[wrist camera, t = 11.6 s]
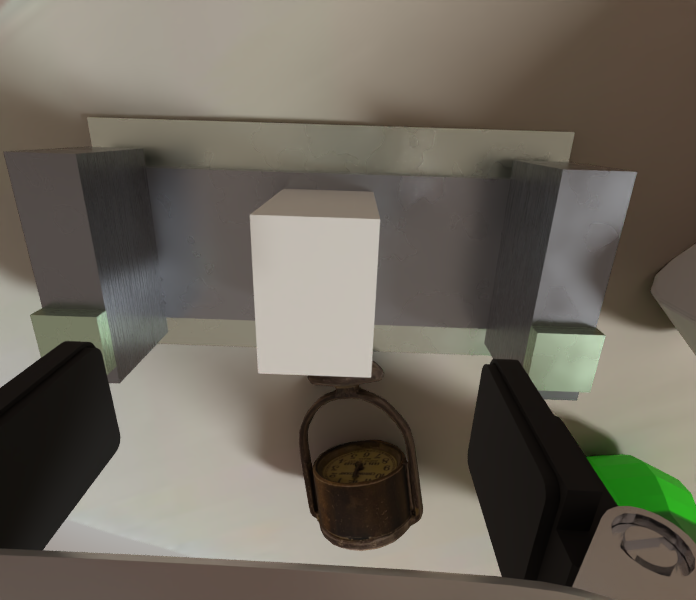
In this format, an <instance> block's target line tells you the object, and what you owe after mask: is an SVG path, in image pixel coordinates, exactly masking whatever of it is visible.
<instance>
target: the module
mask: <svg viewBox="0 0 696 600" xmlns="http://www.w3.org/2000/svg"><path fill="white" fill-rule="evenodd" d="M250 231H251V249H252V268H253V287H254V305H255V324H256V343H257V362H258V373H261V374H287V375H314V376H340V377H367V378H371V371H372V354H373V336H374V319H375V301H376V284H377V266H378V249H379V231H380V216H379V212H378V208H377V204H376V200H375V196H374V192H366V191H336V190H307V189H282V190H281V191H280V192H279V193H277V194H276V195H275V196H273V197H272V198H271V199H269V200H268V201H267V202H266V203H264V204H263V205H262V206H260V207H259V208H258V209H256V210H255V211H254V212H253V213H251V214H250Z"/></svg>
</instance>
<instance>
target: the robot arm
mask: <svg viewBox="0 0 696 600" xmlns="http://www.w3.org/2000/svg"><path fill="white" fill-rule="evenodd" d="M119 444H120V432H119V428H118V423H117V419H116V414H115V410H114V405H113V400H112V396H111V391H110V387H109V382H108V378H107V373H106V369H105V364H104V360H103V355H102V352H101V350H100V349H98V348H96V347H95V345H94V344H93V343H91V342H81V341H64V342H62V343H61V344H59V345H58V346H57V347H55V348H54V349H52V350H51V351H50V352H48V353H47V354H46V355H44V356H43V357H42V358H40V359H39V360H38V361H36V362H35V363H34V364H32V365H31V366H29V367H28V368H27V369H25V370H24V371H23V372H21V373H20V374H19V375H17V376H16V377H15V378H13V379H12V380H11V381H9V382H8V383H6V384H5V385H4V386H2V387H1V388H0V600H696V544H695V543H694V541H693V540H692V539H691V538H690V537H689V536H688V535H687V534H686V533H685V532H683V531H682V530H681V529H680V528H678V527H677V526H676V525H675V524H673V523H672V522H670V521H668V520H666V519H665V518H663V517H661V516H660V515H657V514H655V513H652V512H650V511H647V510H645V509H641V508H636V507H632V506H618V505H617V503H616V502H615V500H614V499H613V497H612V496H611V494H610V493H609V491H608V490H607V488H606V487H605V485H604V484H603V482H602V481H601V479H600V478H599V476H598V475H597V473H596V472H595V470H594V469H593V467H592V465H591V464H590V462H589V461H588V459H587V458H586V456H585V455H584V453H583V452H582V450H581V449H580V447H579V446H578V444H577V443H576V441H575V440H574V438H573V437H572V435H571V434H570V432H569V431H568V429H567V427H566V426H565V424H564V423H563V422H562V420H561V419H560V418H559V417H556V416H554V415H553V413H552V411H551V410H550V408H549V407H548V405H547V404H546V402H545V401H544V399H543V397H542V396H541V394H540V393H539V391H538V390H537V388H536V387H535V385H534V383H533V382H532V380H531V379H530V377H529V376H528V374H527V373H526V371H525V369H524V368H523V366H522V365H521V363H520V362H519V361H518V360H513V359H493V360H492V361H491V363H490V364H485V365H484V366H483V368H482V373H481V379H480V385H479V391H478V396H477V402H476V408H475V414H474V420H473V425H472V431H471V437H470V443H469V448H468V465H469V469H470V473H471V476H472V479H473V483H474V486H475V489H476V493H477V496H478V499H479V503H480V506H481V509H482V513H483V516H484V519H485V522H486V526H487V529H488V532H489V536H490V539H491V542H492V546H493V549H494V552H495V556H496V559H497V562H498V566H499V569H500V572H501V575H502V577H498V576H485V575H472V574H459V573H446V572H432V571H419V570H405V569H387V568H370V567H353V566H335V565H318V564H301V563H283V562H265V561H246V560H227V559H208V558H189V557H168V556H150V555H130V554H129V555H128V554H110V553H88V552H66V551H44V550H43V549H44V548H45V546H46V545H47V544H48V542H49V541H50V539H51V538H52V537H53V535H54V534H55V533H56V531H57V530H58V529H59V528H60V526H61V525H62V523H63V522H64V521H65V519H66V518H67V517H68V515H69V514H70V513H71V511H72V510H73V509H74V507H75V506H76V505H77V503H78V502H79V501H80V499H81V498H82V497H83V495H84V494H85V493H86V491H87V490H88V489H89V487H90V486H91V485H92V483H93V482H94V481H95V479H96V478H97V477H98V475H99V474H100V473H101V471H102V470H103V469H104V467H105V466H106V465H107V463H108V462H109V460H110V459H111V458H112V456H113V455H114V454H115V452H116V451H117V449H118V447H119Z"/></svg>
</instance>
